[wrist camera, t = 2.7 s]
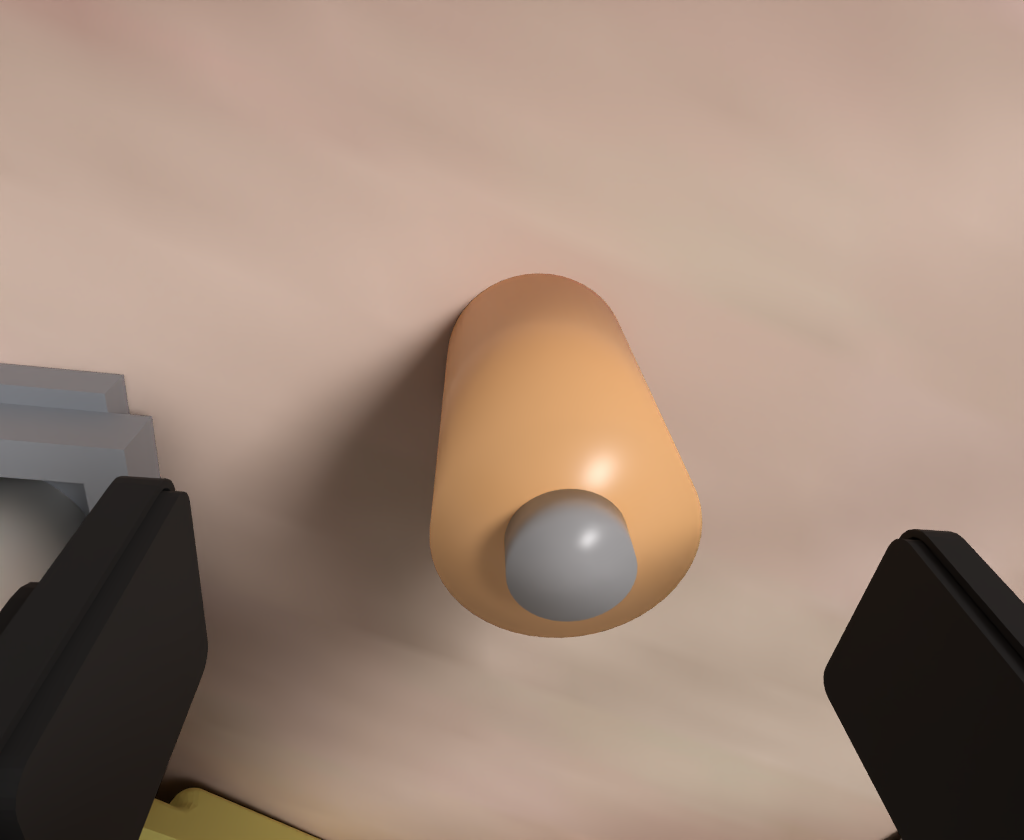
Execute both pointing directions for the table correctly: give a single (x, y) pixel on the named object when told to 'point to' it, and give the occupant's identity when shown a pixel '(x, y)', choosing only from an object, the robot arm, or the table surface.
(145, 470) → the housing
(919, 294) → the table surface
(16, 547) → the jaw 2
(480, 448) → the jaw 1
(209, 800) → the plastic component
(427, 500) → the table surface
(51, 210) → the table surface
